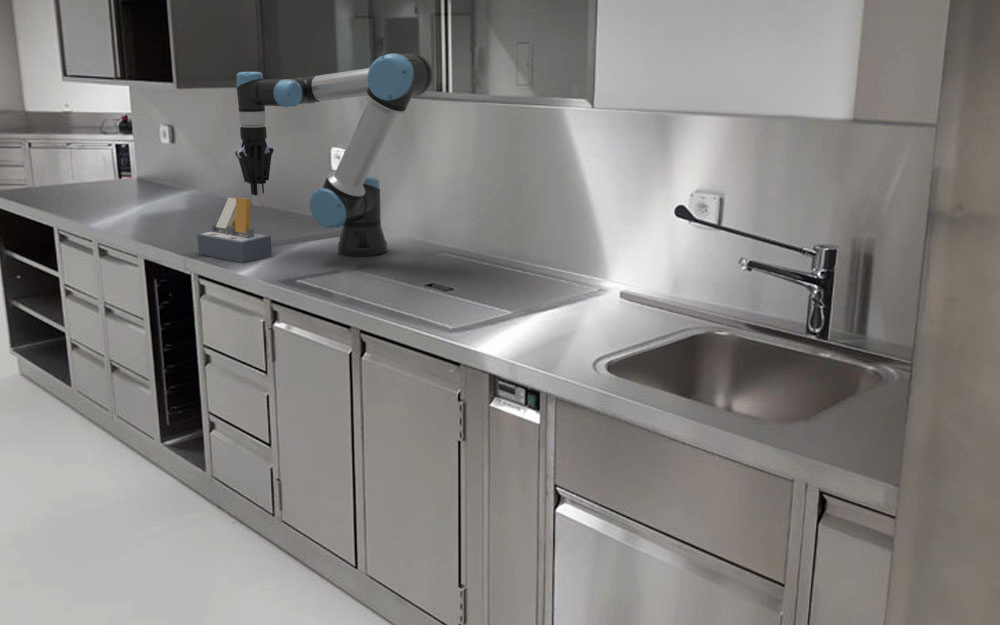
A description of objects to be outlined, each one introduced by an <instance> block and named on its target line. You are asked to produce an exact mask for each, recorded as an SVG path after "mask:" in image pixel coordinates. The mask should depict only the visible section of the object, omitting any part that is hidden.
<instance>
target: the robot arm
mask: <svg viewBox="0 0 1000 625" xmlns="http://www.w3.org/2000/svg"><path fill="white" fill-rule="evenodd" d="M433 80H434V70H433V67H432V64H431V63H430V62H429V60H427V58H425V57H424V56H422V55H421V54H417V53H412V52H411V53H394V52H393V53H388V54H385V55H382V56H379V57H378V58H376V59H375V60H373V62H372V63H371V65H370V66H369V67H367V68H361V69H353V70H347V71H341V72H340V71H339V72H333V73H326V74H321V75H320V74H319V75H315V76H314V75H313V76H307V77H297V78H287V79H286V78H285V79H284V78H283V79H267V78H266V79H264V77H263V73H262V72H260V71H238V73H236V87H235V88H236V93H237V96H236V97H237V103H238V121H239V125H240V128H239V132H240V133H239V135H240V139H241V141H242V142H241V145H240V146H241V148H240V149H239V150H237V151H235V152H234V154H235V156H236V157H237V159H238V162H239V165H240V170H241V174H242V177H243V181H244V183H247V184H249V185H250V194H251V195H252V202H253V206H257V207H262V206H264V193H265V189H264V188H265V186H264V184H267V181H269V180H270V179H269V178H270V172H271V164H272V163H271V162H272V156H273V153H274V148H273V147H269V146H268V143H267V141H266V139H267V137H268V135H267V127H266V124H267V122H266V119H267V118H266V110H265V109H266V107H267V106H269V107H283V108H291V107H297V106H298V105H305V104H314V103H320V102H327V101H336V100H340V99H350V98H356V97H357V98H358V97H364V96H365V97H366V96H367V98H368V101H367V103H366V105H365V107H364V109H363V112H362V114H361V116H360V118H359V120H358V122H357V125H356V127H355V128H354V131H353V132H352V135H351V137H350V140H349V142H348V144H347V146H346V148H345V150H344V153H343V155H342V156H341V159H340V162H339V164H338V165H337V167H336V170H335V171H332V172H330V173H329V174H328V175H327V176H326V179H325V181H324V183H323V185H322V187H321V188H318V189H316V190H315V191H314V192H312V194H311V196H310V199H309V202H308V203H309V210H310V212H311V216H312V217H313V219H314V220H315V221H316V222H317V224H318V225H320V226H322V227H324V228H327V229H333V228H340V227H342V229H341V233H340V237H339V242H338V243H337V253H339V254H340V255H343V256H349V257H350V256H351V257H371V255H372V256H378V255H377V254H379V255H382V254H384V252H385V253H386V251H387V252H388V242H387V240H386V238H385V235H384V231H383V228H382V221H381V220H382V219H381V218H382V217H381V214H382V213H381V188H380V181H379V179H378V178H376V177H373V176H368V175H369V173H370V171H371V170H372V168H373V165H374V163H375V160H376V159H377V157H378V155H379V152H380V151H381V148H382V146H383V145H384V142H385V140H386V138H387V137H388V134H389V133H390V131H391V128H392V125H393V123H394V121H395V119H396V118H397V115H399V114H402V113H404V112H405V111H406V110H407V107H408V106H409V104H410V102H411V99H412V98H413V97H418V96H420V95H423V94H425V93H427V91H429V89H430V87H431V86H432V83H433ZM381 253H382V254H381Z"/></svg>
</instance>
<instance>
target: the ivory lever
mask: <svg viewBox="0 0 1000 625" xmlns="http://www.w3.org/2000/svg"><path fill="white" fill-rule="evenodd" d="M236 198H237V197H236ZM236 198H234V197H227V200H226V202H225V205H224V207H223V210H222V212H221V214H220V216H219V218H218V221H217V225H216V226H215V230H219V231H224V232H226V227H228V226H232V223H233V221H234V219H235V216H236Z"/></svg>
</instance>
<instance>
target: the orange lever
mask: <svg viewBox="0 0 1000 625" xmlns="http://www.w3.org/2000/svg"><path fill="white" fill-rule="evenodd" d="M251 201H252V200H251V199H250V198H245V197H244V198H243V197H236V221H235V230H234V233H236V234H241V235H246V230H251Z"/></svg>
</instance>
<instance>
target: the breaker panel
mask: <svg viewBox="0 0 1000 625" xmlns="http://www.w3.org/2000/svg"><path fill="white" fill-rule="evenodd" d="M217 223H218V222H217ZM217 223H212V224H211V225H210V228H211V231H209V232H203V233H199V234H197V243H198V244H197V245H198V246H197V247H198V255H201V256H206V257H211V258H217V259H222V260H226V261H231V262H236V263H241V264H244V263H249V262H252V261H257V260H261V259H266V258H269V257H273V251H272V239H271V238H272V236H270V235H264V234H259V233H255V231H254V229H253V228H250V230H246V235H241V234H236V233H234V230H235V227H233V226H228V227H226V232H224V231H219V230H215V226H216V225H217Z"/></svg>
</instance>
